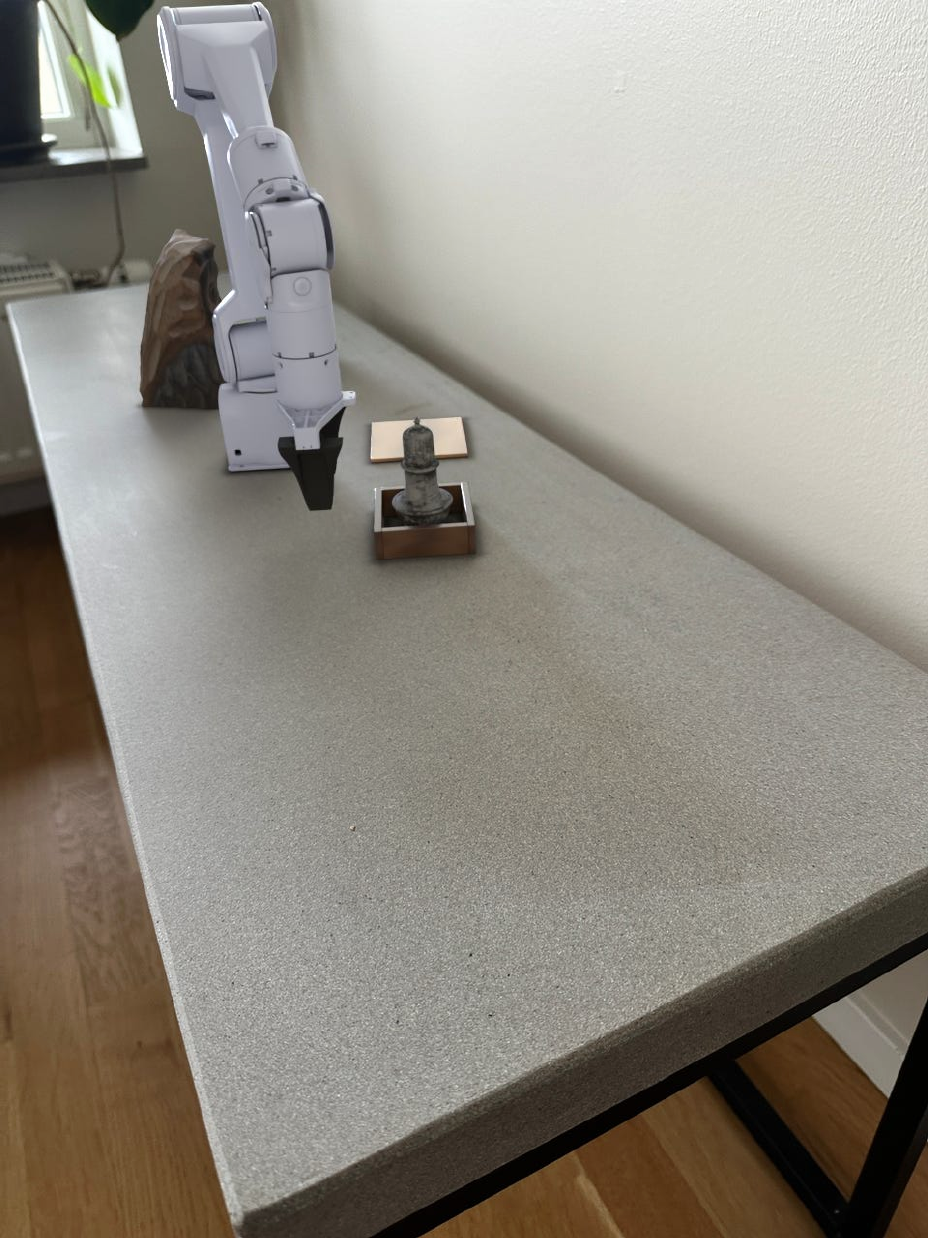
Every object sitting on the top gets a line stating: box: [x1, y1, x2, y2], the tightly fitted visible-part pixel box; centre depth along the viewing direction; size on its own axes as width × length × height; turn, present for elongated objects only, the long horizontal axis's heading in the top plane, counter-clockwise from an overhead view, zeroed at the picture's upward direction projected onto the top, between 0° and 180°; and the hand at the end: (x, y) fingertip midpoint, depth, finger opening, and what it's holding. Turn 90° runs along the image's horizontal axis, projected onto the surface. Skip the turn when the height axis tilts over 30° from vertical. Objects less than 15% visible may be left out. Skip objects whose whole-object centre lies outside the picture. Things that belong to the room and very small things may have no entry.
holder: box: [373, 481, 477, 561], centre depth 94 cm, size 9×9×3 cm
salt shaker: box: [392, 416, 453, 527], centre depth 91 cm, size 6×6×12 cm
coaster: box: [370, 416, 469, 463], centre depth 113 cm, size 11×11×1 cm
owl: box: [139, 228, 228, 410], centre depth 124 cm, size 13×13×20 cm
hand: (323, 490), depth 91 cm, fingers open, 7 cm apart
